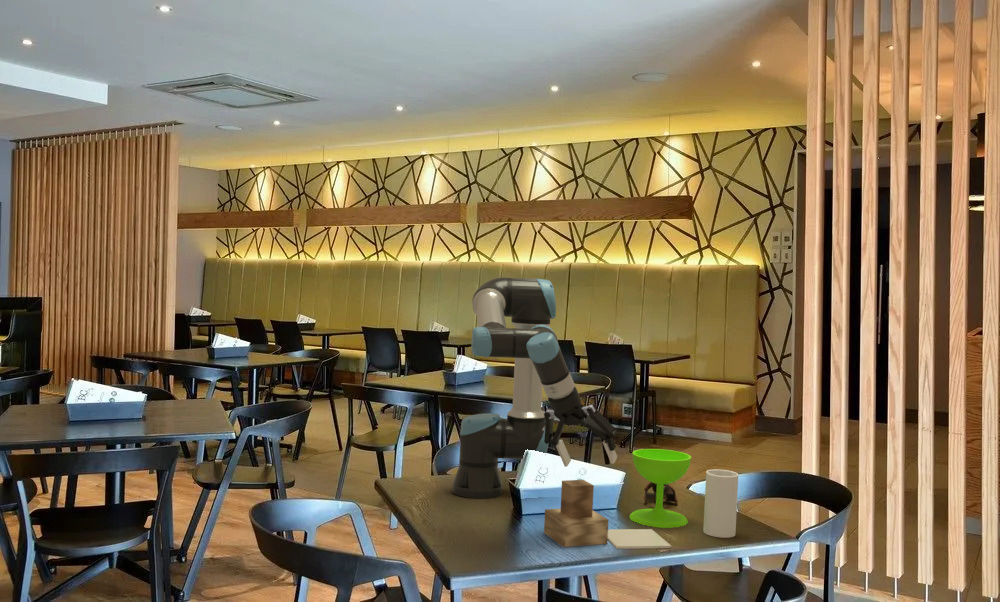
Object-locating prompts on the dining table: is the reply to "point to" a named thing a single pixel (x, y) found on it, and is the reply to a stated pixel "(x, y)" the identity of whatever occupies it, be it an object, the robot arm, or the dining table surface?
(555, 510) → the cover
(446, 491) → the dining table surface
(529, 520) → the dining table surface
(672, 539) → the dining table surface
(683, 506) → the dining table surface
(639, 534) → the tile
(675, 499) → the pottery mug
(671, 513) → the wineglass
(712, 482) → the cup
